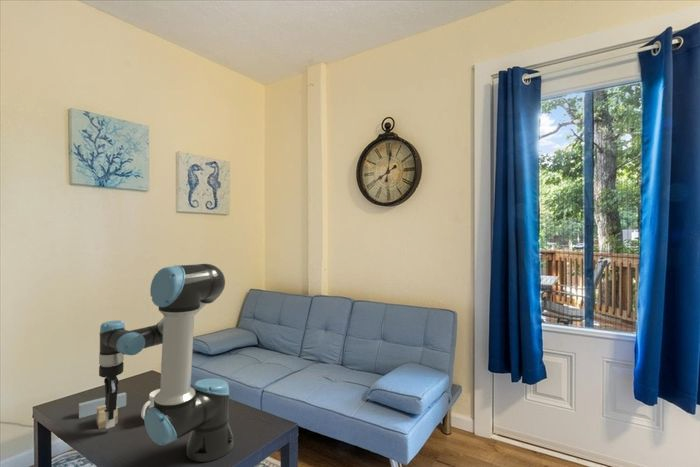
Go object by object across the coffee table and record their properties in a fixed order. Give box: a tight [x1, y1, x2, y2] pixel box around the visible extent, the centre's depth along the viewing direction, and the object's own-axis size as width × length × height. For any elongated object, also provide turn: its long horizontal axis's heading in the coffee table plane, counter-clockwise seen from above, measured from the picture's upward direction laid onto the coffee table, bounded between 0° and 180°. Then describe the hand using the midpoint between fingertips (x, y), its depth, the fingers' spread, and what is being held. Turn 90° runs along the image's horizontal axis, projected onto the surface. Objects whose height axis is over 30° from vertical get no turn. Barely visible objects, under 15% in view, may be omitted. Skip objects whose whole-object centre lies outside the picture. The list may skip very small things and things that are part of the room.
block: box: [96, 405, 119, 430], centre depth 137 cm, size 6×6×6 cm
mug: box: [140, 388, 160, 420], centre depth 139 cm, size 12×8×10 cm
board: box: [78, 392, 127, 419], centre depth 146 cm, size 2×16×5 cm, turn 131°
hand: (110, 426), depth 130 cm, fingers closed
